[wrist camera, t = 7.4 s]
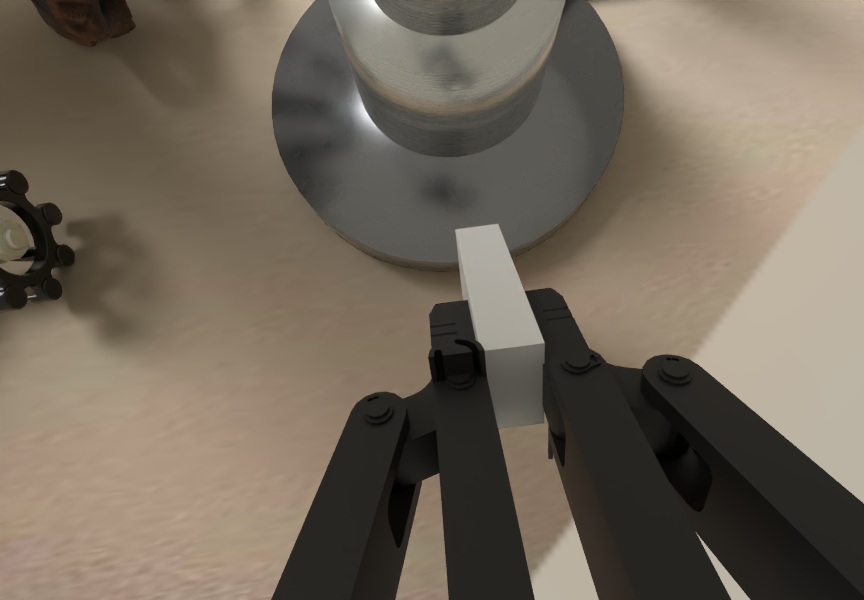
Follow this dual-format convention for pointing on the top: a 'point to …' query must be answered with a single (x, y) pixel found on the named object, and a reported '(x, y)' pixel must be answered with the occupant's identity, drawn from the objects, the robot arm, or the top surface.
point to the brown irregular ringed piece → (87, 18)
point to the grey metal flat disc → (445, 176)
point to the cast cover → (448, 67)
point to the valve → (12, 244)
